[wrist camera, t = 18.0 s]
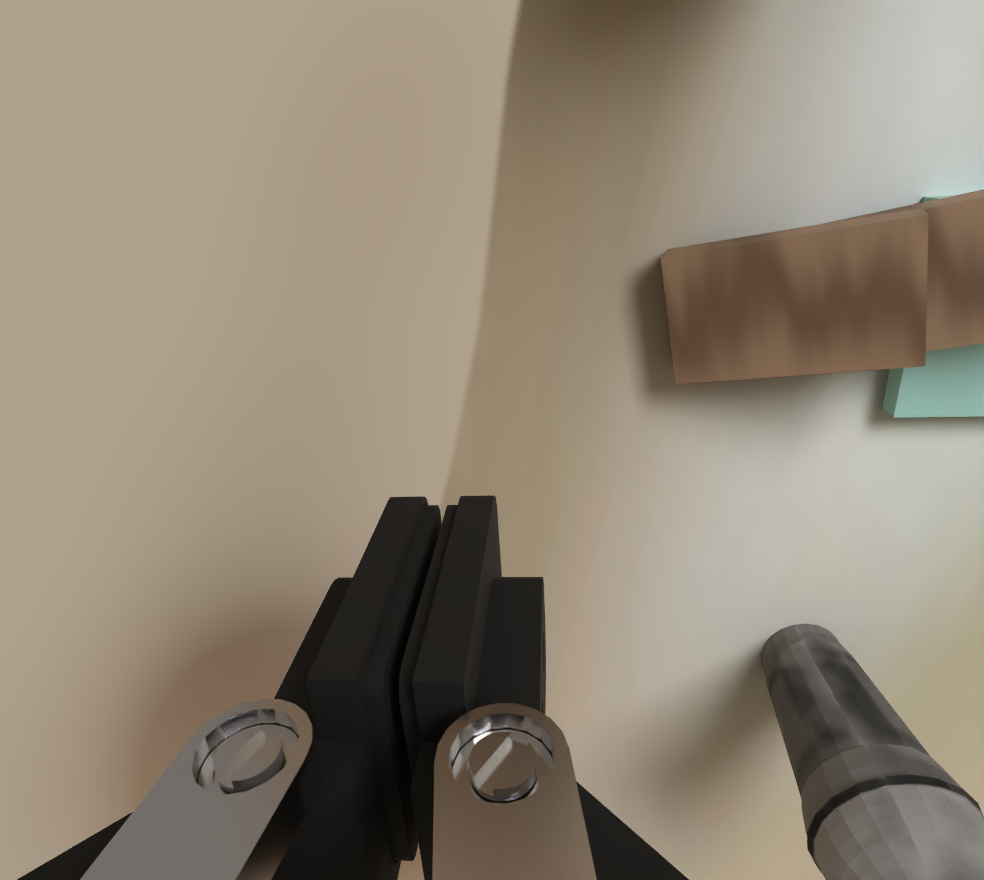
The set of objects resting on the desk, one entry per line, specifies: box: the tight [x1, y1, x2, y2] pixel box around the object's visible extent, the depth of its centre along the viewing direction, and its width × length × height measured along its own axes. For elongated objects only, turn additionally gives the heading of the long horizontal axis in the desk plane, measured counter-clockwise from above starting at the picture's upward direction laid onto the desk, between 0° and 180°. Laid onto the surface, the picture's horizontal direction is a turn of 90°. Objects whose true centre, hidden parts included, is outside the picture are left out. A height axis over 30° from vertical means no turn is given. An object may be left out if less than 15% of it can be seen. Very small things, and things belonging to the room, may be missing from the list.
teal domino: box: [882, 196, 984, 418], centre depth 31 cm, size 6×2×10 cm
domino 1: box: [660, 208, 928, 384], centre depth 29 cm, size 6×2×10 cm
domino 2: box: [820, 190, 984, 351], centre depth 28 cm, size 6×2×10 cm
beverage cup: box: [761, 624, 984, 880], centre depth 30 cm, size 7×7×20 cm
